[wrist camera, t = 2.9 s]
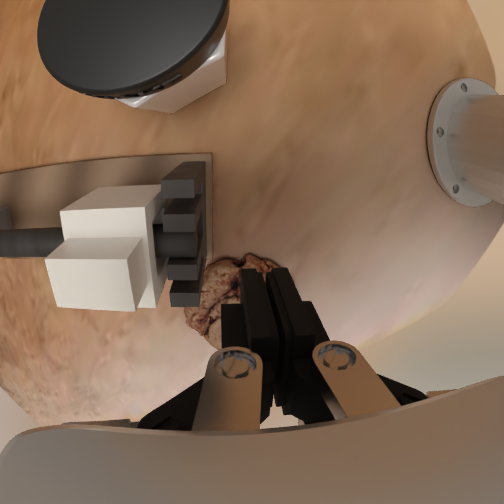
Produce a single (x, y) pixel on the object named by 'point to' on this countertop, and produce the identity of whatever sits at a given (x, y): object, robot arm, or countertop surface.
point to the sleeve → (110, 250)
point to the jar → (136, 49)
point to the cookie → (221, 294)
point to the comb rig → (111, 175)
